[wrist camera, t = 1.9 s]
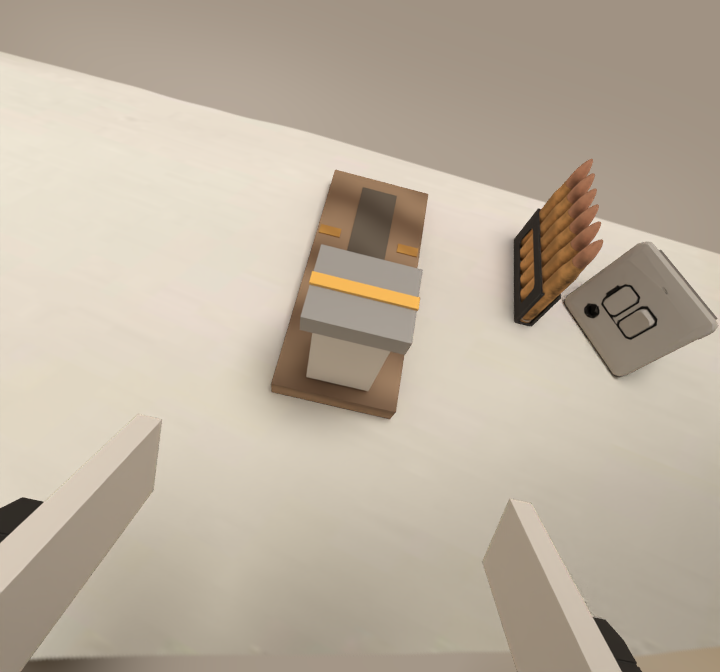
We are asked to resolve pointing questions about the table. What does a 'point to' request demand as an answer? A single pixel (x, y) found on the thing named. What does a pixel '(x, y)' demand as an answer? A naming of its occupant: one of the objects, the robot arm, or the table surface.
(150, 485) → the robot arm
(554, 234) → the ammunition clip
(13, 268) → the table surface
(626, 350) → the electrical switch
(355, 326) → the fader tab
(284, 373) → the fader console
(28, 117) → the table surface
